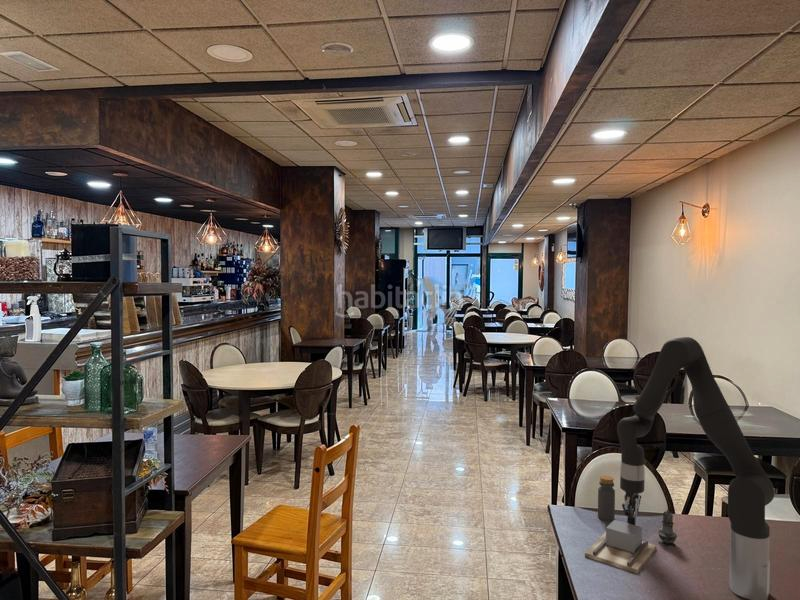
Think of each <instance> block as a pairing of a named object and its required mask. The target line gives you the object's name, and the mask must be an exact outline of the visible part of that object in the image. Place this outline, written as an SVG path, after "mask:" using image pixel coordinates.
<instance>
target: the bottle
mask: <svg viewBox="0 0 800 600" xmlns="http://www.w3.org/2000/svg"><path fill="white" fill-rule="evenodd" d="M599 479H600V481H599V486H600V487H598V488H597V495H598V496H597V517H598V519H600V520H602V521H606V522H609V521H610V522H611V521H612V522H613V521H614V520H615V515H616V514H615V513H616V512H615V511H616V490H615V489H614V488H613V487H615V483H614V477H612V476H610V475H601V476H599Z"/></svg>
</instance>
